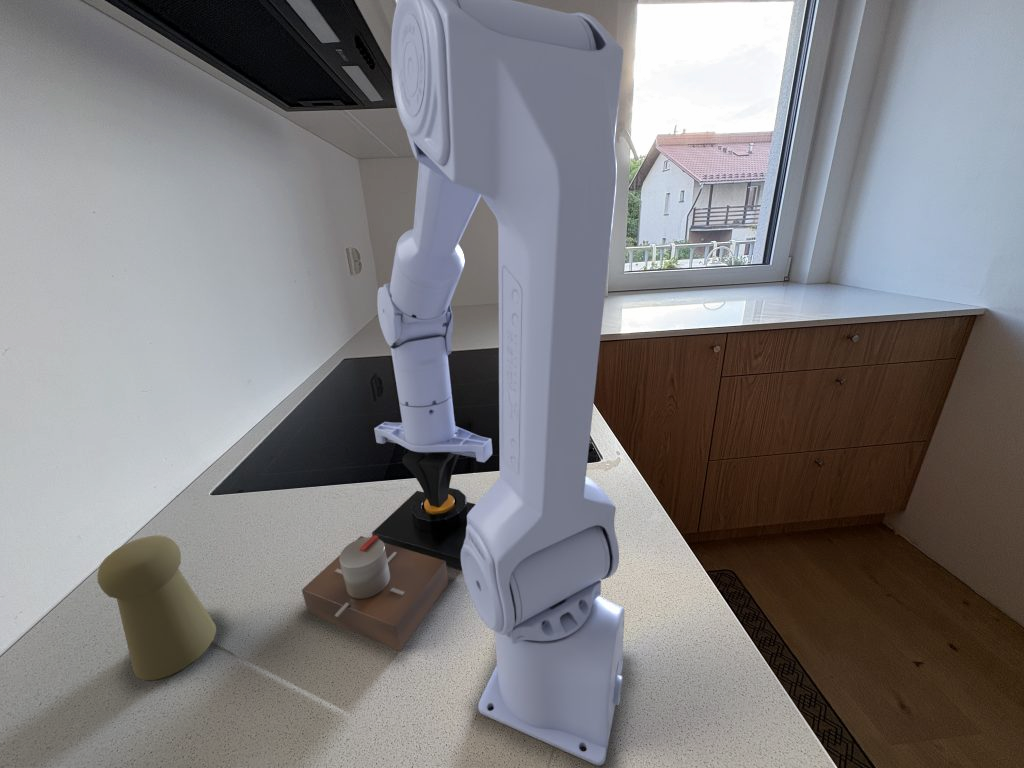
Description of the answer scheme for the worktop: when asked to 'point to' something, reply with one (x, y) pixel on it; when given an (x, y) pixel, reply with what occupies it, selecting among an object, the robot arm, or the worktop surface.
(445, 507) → the power button
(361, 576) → the dimmer knob
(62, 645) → the worktop surface
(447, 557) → the lamp switch
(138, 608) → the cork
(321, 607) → the dimmer panel
